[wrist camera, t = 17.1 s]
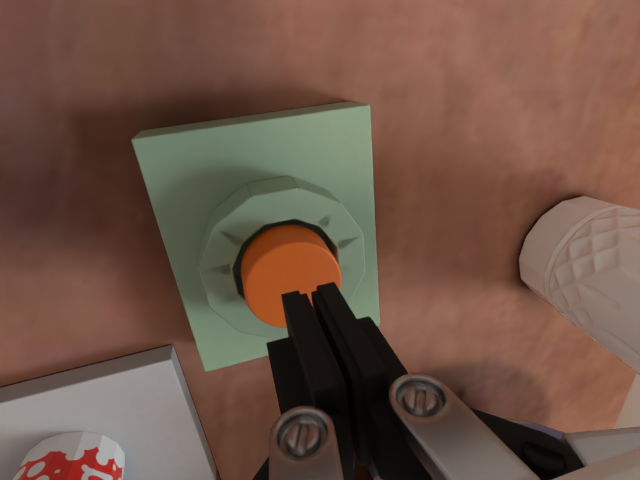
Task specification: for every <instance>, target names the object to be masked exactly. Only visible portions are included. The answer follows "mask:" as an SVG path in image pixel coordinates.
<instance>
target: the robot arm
mask: <svg viewBox="0 0 640 480" xmlns="http://www.w3.org/2000/svg"><path fill="white" fill-rule="evenodd" d="M281 297H282V303H283V309H284V314H285V320H286V325H287V331H288V337H286V338H283V339H279V340H275V341H271V342H267V343H266V345H267V349H268V354H269V359H270V364H271V368H272V373H273V378H274V383H275V387H276V392H277V397H278V402H279V407H280V411H281V416H280V417H279V418H278V419H277V420H276V421H275V423H274V425H273V427H272V429H271V432H270V438H269V457H268V458H267V460H266V461H265V463H264V464H263V465H262V467H261V468H260V470H259V471H258V473H257V474H256V475H255V477H254V478H253V480H355V478H354V469H355V464H354V454H353V450H354V452H355V455H356V457H357V460H358V462H359V465H360V466H364V465H367V466H368V468H369V471H370V473H371V476H372V477H375V476H378V475H379V477H380V479H383V480H640V427H631V428H620V429H608V430H597V431H586V432H575V433H564V434H563V435H562V439H557V438H555V437H553V436H551V435H549V434H547V433H544V432H542V431H538V430H535V429H532V428H529V427H526V426H523V425H520V424H517V423H514V422H511V421H508V420H505V419H502V418H499V417H496V416H493V415H490V414H487V413H484V412H481V411H478V410H475V409H472V408H469V407H467V406H466V405H465V404H464V403H463V402H462V401H461V400H460V399H459V398H458V397H457V396H456V395H455V394H454V393H453V392H452V391H451V390H450V389H449V388H448V387H447V386H446V385H445V384H444V383H443V382H441V381H440V380H439V379H437V378H435V377H433V376H430V375H427V374H422V373H410V374H408V372H407V371H406V369H405V368H404V366H403V365H402V363H401V362H400V360H399V359H398V357H397V356H396V354H395V353H394V351H393V350H392V348H391V347H390V345H389V344H388V342H387V341H386V339H385V338H384V336H383V335H382V333H381V332H380V330H379V329H378V327H377V326H376V324H375V323H374V321H373V320H372V319H371V317H369V316H367V317H363V318H360V319H356V317H355V315H354V314H353V312H352V310H351V309H350V307H349V305H348V304H347V302H346V300H345V299H344V297H343V295H342V294H341V292H340V290H339V289H338V287H337V285H336V284H335V282H331V283H327V284H322V285H318V286H317V291H313V292H311V297H312V304H313V307H312V304H311V302H310V300H309V298H308V295H307V293H305V294H300V292H299V290H297V291H293V292H289V293H284V294H281Z"/></svg>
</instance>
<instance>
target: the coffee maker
mask: <svg viewBox="0 0 640 480" xmlns="http://www.w3.org/2000/svg"><path fill="white" fill-rule="evenodd" d="M80 431H85V432H91V433H96V434H102V435H104V436H106V437H108V438H110V439H112V440H113V441H115V442H117V443H118V445H119V446H120V447H121V449H122V450H123V452H124V453H125V467H124V474H123V480H220V477H219V474H218V471H217V469H216V465H215V463H214V460H213V457H212V454H211V451H210V448H209V446H208V443H207V440H206V437H205V434H204V431H203V429H202V426H201V423H200V420H199V417H198V414H197V412H196V409H195V406H194V403H193V400H192V397H191V395H190V392H189V389H188V386H187V383H186V380H185V378H184V375H183V372H182V369H181V366H180V363H179V360H178V358H177V355H176V352H175V349H174V346H173V345H169V346H165V347H161V348H157V349H153V350H149V351H145V352H141V353H137V354H133V355H129V356H125V357H121V358H117V359H113V360H109V361H105V362H101V363H97V364H93V365H89V366H85V367H81V368H77V369H73V370H69V371H65V372H61V373H57V374H53V375H49V376H45V377H41V378H37V379H33V380H29V381H25V382H21V383H17V384H13V385H9V386H5V387H1V388H0V480H13V478H14V476H15V474H16V473H17V471H18V469H19V467H20V465H21V464H22V462H23V460H24V458H25V457H26V455H27V453H28V451H29V450H30V449H32V448H33V447H34V446H36V445H37V444H38V443H40V442H41V441H42V440H44V439H47V438H50V437H53V436H55V435H58V434H61V433H68V432H80Z"/></svg>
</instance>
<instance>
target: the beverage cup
mask: <svg viewBox="0 0 640 480" xmlns="http://www.w3.org/2000/svg"><path fill="white" fill-rule="evenodd" d="M124 467H125V453H124V452H123V450H122V449H121V447H120V446H119V445H118V443H117V442H115V441H113V440H112V439H110V438H108V437H106V436H104V435H102V434H96V433H91V432H85V431H80V432H68V433H61V434H58V435H55V436H53V437H50V438H47V439H44V440H42V441H41V442H40V443H38V444H37V445H36V446H34V447H33V448H32V449H30V450H29V451H28V453H27V455H26V457H25V458H24V460H23V462H22V464H21V465H20V467H19V469H18V471H17V473H16V474H15V476H14V478H13V480H123V474H124Z"/></svg>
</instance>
